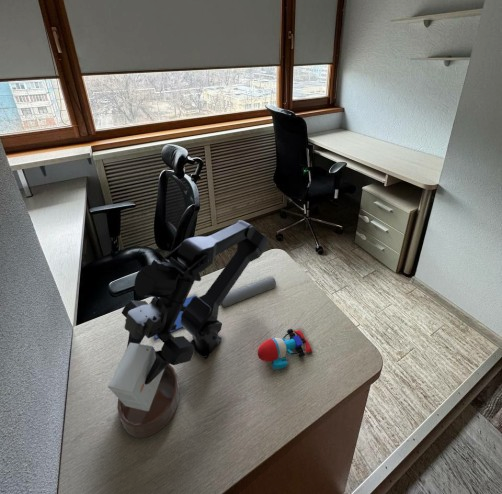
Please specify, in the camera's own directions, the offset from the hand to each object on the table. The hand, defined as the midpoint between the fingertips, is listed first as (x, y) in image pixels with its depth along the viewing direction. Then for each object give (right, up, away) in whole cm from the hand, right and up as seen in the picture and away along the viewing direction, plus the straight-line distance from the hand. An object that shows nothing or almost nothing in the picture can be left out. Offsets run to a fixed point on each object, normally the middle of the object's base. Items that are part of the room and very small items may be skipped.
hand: (136, 371), depth 56 cm
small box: (+1, -6, +3) cm, 7 cm away
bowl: (+1, -12, +6) cm, 13 cm away
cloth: (+1, -4, +26) cm, 26 cm away
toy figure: (+33, -8, +16) cm, 37 cm away
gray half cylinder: (+23, 0, +34) cm, 41 cm away
